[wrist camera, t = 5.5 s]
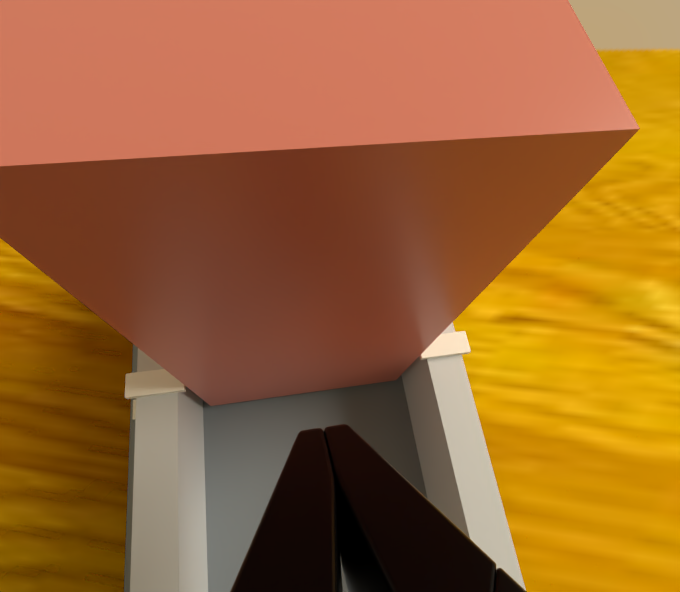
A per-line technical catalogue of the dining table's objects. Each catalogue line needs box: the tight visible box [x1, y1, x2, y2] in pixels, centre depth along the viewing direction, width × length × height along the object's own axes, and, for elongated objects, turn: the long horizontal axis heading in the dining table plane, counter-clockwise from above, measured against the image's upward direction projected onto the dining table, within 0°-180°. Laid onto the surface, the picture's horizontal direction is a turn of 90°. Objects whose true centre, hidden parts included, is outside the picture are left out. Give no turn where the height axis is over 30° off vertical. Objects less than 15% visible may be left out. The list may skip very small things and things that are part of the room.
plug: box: [0, 0, 640, 406], centre depth 9 cm, size 3×6×11 cm, turn 99°
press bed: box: [124, 322, 526, 592], centre depth 13 cm, size 16×11×4 cm
